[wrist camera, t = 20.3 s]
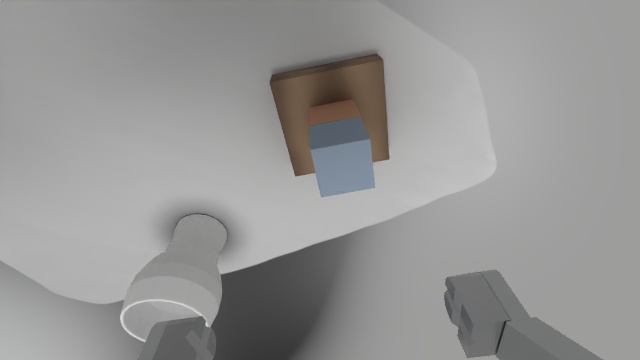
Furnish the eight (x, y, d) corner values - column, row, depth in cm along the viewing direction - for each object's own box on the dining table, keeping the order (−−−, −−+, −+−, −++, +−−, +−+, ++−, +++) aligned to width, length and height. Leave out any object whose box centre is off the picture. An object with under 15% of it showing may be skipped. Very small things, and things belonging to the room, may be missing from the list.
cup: (249, 226, 46) (229, 316, 34) (217, 265, 51) (189, 357, 38) (183, 194, 42) (133, 283, 30) (155, 239, 47) (101, 332, 34)
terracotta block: (317, 147, 36) (319, 168, 32) (309, 107, 33) (309, 125, 29) (358, 139, 36) (365, 160, 31) (353, 98, 33) (361, 115, 29)
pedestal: (295, 164, 40) (295, 176, 38) (272, 75, 34) (269, 82, 31) (383, 148, 40) (389, 159, 37) (376, 54, 33) (383, 59, 31)
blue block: (318, 169, 32) (321, 197, 28) (309, 126, 29) (310, 150, 25) (365, 160, 31) (374, 187, 27) (360, 116, 29) (370, 138, 24)
